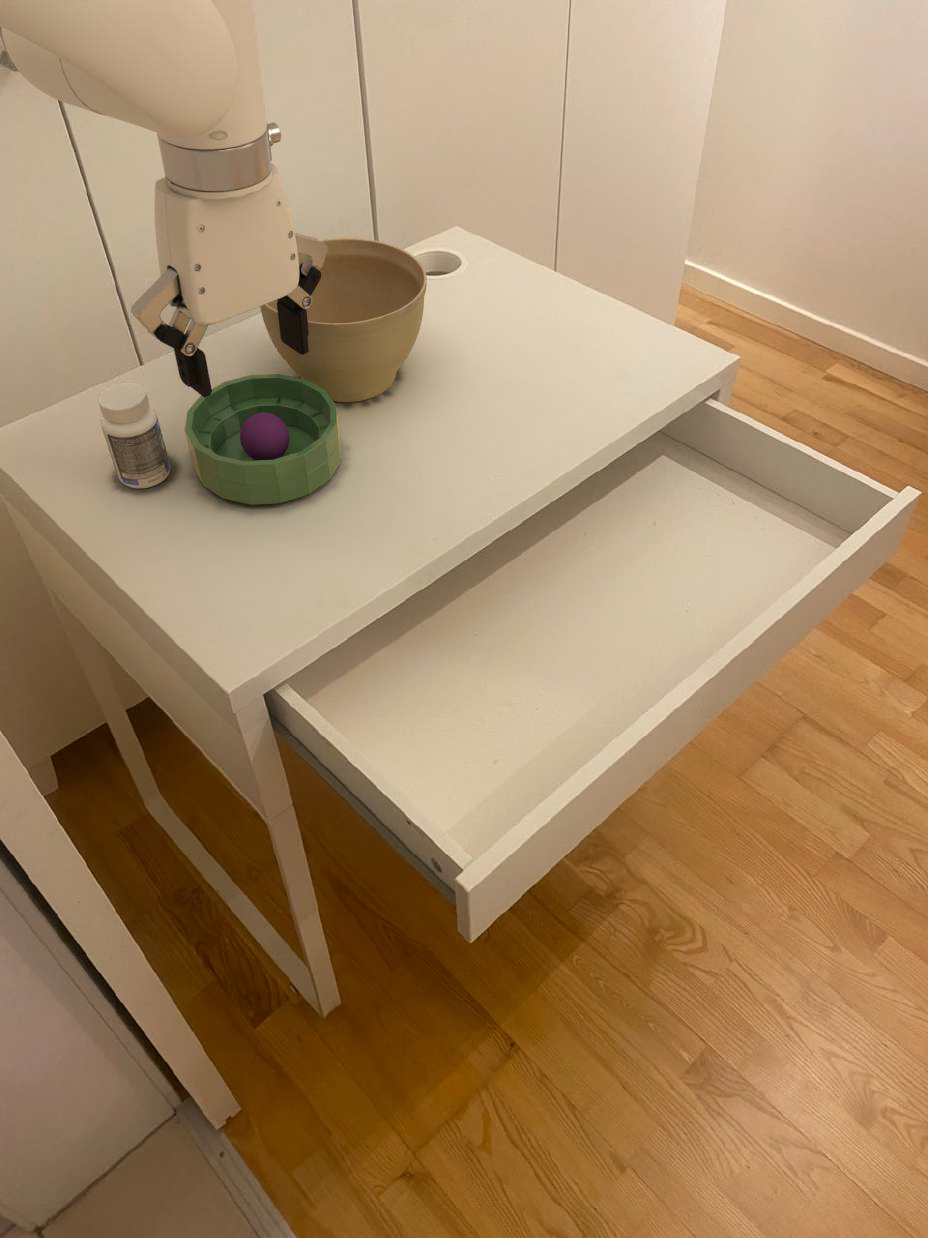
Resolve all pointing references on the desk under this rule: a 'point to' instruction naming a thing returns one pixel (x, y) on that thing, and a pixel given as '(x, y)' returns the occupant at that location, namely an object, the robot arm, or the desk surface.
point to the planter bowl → (357, 318)
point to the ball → (264, 436)
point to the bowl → (264, 480)
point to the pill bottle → (133, 435)
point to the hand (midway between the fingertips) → (248, 367)
